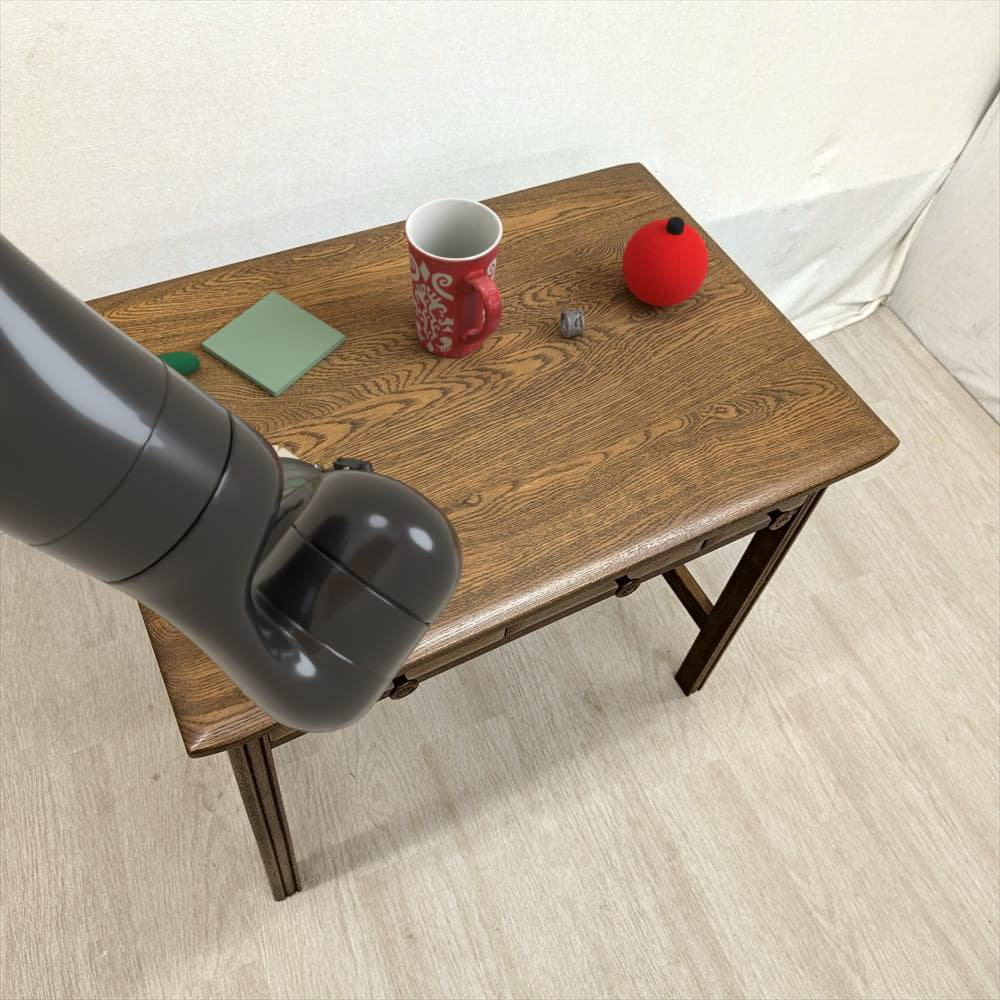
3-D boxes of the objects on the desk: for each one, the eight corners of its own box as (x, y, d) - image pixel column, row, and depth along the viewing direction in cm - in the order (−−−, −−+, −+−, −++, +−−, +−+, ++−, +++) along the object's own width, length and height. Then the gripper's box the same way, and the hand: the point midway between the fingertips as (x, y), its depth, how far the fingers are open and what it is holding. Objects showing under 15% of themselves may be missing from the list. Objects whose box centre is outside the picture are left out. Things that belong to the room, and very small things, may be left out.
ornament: (710, 314, 98) (737, 240, 89) (637, 332, 95) (658, 258, 87) (672, 260, 102) (694, 185, 94) (601, 276, 100) (617, 201, 92)
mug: (392, 316, 94) (388, 209, 83) (469, 293, 97) (476, 186, 86) (444, 400, 88) (447, 297, 77) (525, 373, 91) (539, 269, 80)
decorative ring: (582, 341, 94) (587, 320, 92) (565, 343, 94) (569, 322, 91) (574, 322, 95) (579, 301, 93) (558, 324, 95) (561, 303, 93)
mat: (275, 398, 87) (274, 392, 86) (202, 348, 90) (200, 343, 89) (345, 340, 92) (345, 335, 91) (274, 296, 94) (273, 290, 94)
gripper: (390, 431, 53) (338, 415, 68) (140, 505, 49) (145, 470, 64) (423, 550, 55) (365, 508, 70) (184, 631, 50) (179, 567, 66)
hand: (260, 490), depth 67 cm, fingers closed on ring, 6 cm apart
